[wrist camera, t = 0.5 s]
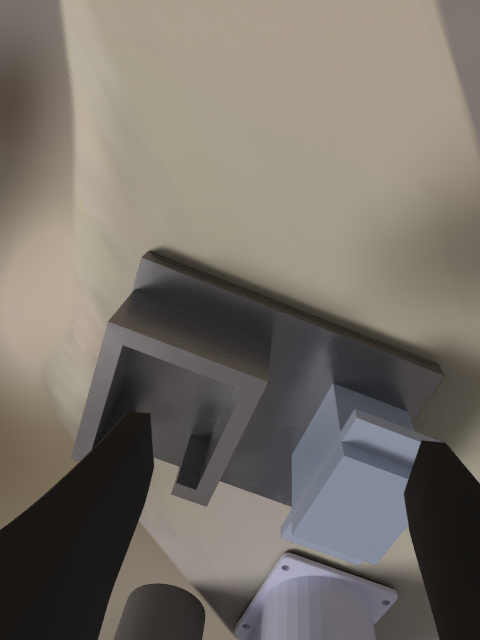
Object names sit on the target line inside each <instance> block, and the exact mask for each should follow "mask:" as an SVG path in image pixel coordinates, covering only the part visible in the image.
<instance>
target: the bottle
mask: <svg viewBox="0 0 480 640" xmlns="http://www.w3.org/2000/svg"><path fill="white" fill-rule="evenodd" d="M204 623H205V610H204V607H203V606H202V604H201V602H200V601H199V600H198V599H197V598H196V597H195V596H194V595H192V594H191V593H189V592H188V591H186V590H184V589H182V588H179V587H176V586H172V585H167V584H148V585H143V586H141V587H139V588H137V589H135V590H134V591H133V592H132V593H131V594H130V596H129V597H128V600H127V602H126V605H125V608H124V611H123V613H122V616H121V619H120V622H119V625H118V628H117V631H116V634H115V637H114V640H202V637H203V630H204Z"/></svg>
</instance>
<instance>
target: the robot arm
mask: <svg viewBox="0 0 480 640" xmlns="http://www.w3.org/2000/svg"><path fill="white" fill-rule="evenodd" d="M153 469H154V459H153V444H152V429H151V414H150V413H142V412H132V411H128V412H127V413H125V414H124V415H123V416H122V418H121V419H120V420H119V421H118V422H117V423H116V424H115V425H114V426H113V428H112V429H111V430H110V431H109V432H108V433H107V434H106V435H105V436H104V437H103V438H102V439H101V441H100V442H99V443H98V444H97V445H96V446H95V447H94V448H93V449H92V450H91V451H90V452H89V453H88V454H87V455H86V456H85V457H84V458H83V459H82V460H81V461H80V462H79V463H78V464H77V465H76V466H75V467H74V468H73V469H72V470H71V471H70V472H69V473H68V474H67V475H66V476H65V477H63V478H62V479H61V480H60V481H59V482H58V483H57V484H56V485H55V486H53V487H52V488H51V489H50V490H49V491H48V492H47V493H46V494H45V495H44V496H42V497H41V498H40V499H39V500H38V501H37V502H35V503H34V504H33V505H32V506H30V507H29V508H28V509H27V510H26V511H24V512H23V513H22V514H21V515H19V516H18V517H17V518H15V519H14V520H13V521H12V522H10V523H9V524H8V525H6V526H5V527H4V528H2V529H1V530H0V640H98V636H99V633H100V630H101V626H102V623H103V619H104V616H105V612H106V608H107V604H108V602H109V598H110V595H111V592H112V590H113V586H114V584H115V581H116V578H117V576H118V573H119V571H120V568H121V565H122V563H123V560H124V557H125V554H126V552H127V550H128V547H129V544H130V542H131V539H132V536H133V534H134V531H135V528H136V526H137V523H138V520H139V518H140V515H141V512H142V510H143V507H144V504H145V501H146V497H147V493H148V490H149V486H150V482H151V477H152V473H153ZM404 499H405V506H406V513H407V519H408V525H409V531H410V535H411V539H412V543H413V546H414V550H415V553H416V557H417V560H418V564H419V567H420V571H421V574H422V578H423V581H424V585H425V588H426V592H427V595H428V599H429V602H430V605H431V609H432V612H433V616H434V619H435V623H436V627H437V631H438V635H439V639H440V640H480V483H479V482H478V481H477V480H476V479H475V477H474V476H473V475H472V474H471V473H470V472H469V470H468V469H467V468H466V467H465V466H464V464H463V463H462V462H461V461H460V460H459V458H458V457H457V456H456V455H455V454H454V452H453V451H452V450H451V449H450V448H449V446H448V445H447V444H446V443H444V442H434V441H424V440H421V443H420V446H419V449H418V452H417V455H416V458H415V461H414V464H413V467H412V470H411V473H410V476H409V479H408V482H407V485H406V488H405V491H404ZM397 599H398V597H397V592H396V591H395V590H394V589H392V588H389V587H386V586H383V585H380V584H377V583H375V582H372V581H369V580H366V579H363V578H360V577H357V576H355V575H352V574H349V573H346V572H343V571H340V570H337V569H335V568H332V567H329V566H326V565H323V564H320V563H318V562H315V561H312V560H309V559H306V558H303V557H300V556H298V555H295V554H292V553H285V554H283V555H282V556H281V557H280V559H279V560H278V562H277V563H276V565H275V567H274V568H273V570H272V571H271V573H270V574H269V576H268V577H267V579H266V580H265V582H264V583H263V585H262V586H261V588H260V589H259V591H258V592H257V594H256V595H255V597H254V599H253V600H252V602H251V603H250V605H249V606H248V608H247V609H246V611H245V612H244V614H243V615H242V617H241V618H240V620H239V621H238V623H237V624H236V626H235V629H234V634H235V635H236V636H237V637H240V638H243V639H246V640H376V635H375V629H374V625H375V624H376V623H377V622H378V620H379V619H380V618H381V617H382V616H383V615H384V614H385V613H386V612H387V611H388V609H389V608H390V607H391V606H392V605H393V604H394V603H395V602H396V601H397Z"/></svg>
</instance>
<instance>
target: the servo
mask: <svg viewBox="0 0 480 640" xmlns="http://www.w3.org/2000/svg"><path fill="white" fill-rule="evenodd" d="M421 440H424V441H434V442H442V441H439V440H436V439H434V438H431V437H429V436H426V435H423V434H421V433H418V432H415V430H414V427H413V424H412V422H411V419H410V416H409V413H408V412H407V411H405V410H402V409H399V408H397V407H394V406H391V405H389V404H386V403H384V402H381V401H378V400H376V399H373V398H370V397H368V396H365V395H363V394H360V393H357V392H355V391H352V390H350V389H347V388H344V387H342V386H339V385H336V384H334V383H333V384H332V386H331V388H330V390H329V391H328V393H327V395H326V397H325V398H324V400H323V402H322V404H321V405H320V407H319V409H318V410H317V412H316V414H315V416H314V417H313V419H312V421H311V423H310V424H309V426H308V428H307V429H306V431H305V433H304V435H303V436H302V438H301V440H300V442H299V443H298V445H297V447H296V448H295V450H294V452H293V454H292V510H291V512H290V513H289V515H288V516H287V518H286V520H285V521H284V523H283V524H282V526H281V538H282V539H285V540H288V541H291V542H294V543H296V544H299V545H302V546H305V547H308V548H311V549H313V550H316V551H319V552H322V553H325V554H328V555H330V556H333V557H336V558H339V559H342V560H345V561H347V562H350V563H353V564H356V565H360V564H361V563H362V562H363V561H366V562H368V563H371V564H374V565H376V564H377V563H378V561H379V560H380V559H381V558H382V556H383V555H384V554H385V553H386V552H387V550H388V549H389V548H390V547H391V546H392V544H393V543H394V542H395V541H396V539H397V538H398V537H399V536H400V535H401V533H402V532H403V531H404V530H405V528H406V527H407V526H408V519H407V513H406V506H405V499H404V491H405V488H406V485H407V482H408V479H409V476H410V473H411V470H412V467H413V464H414V461H415V458H416V455H417V452H418V449H419V446H420V443H421Z"/></svg>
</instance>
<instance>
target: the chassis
mask: <svg viewBox="0 0 480 640" xmlns="http://www.w3.org/2000/svg"><path fill="white" fill-rule="evenodd" d="M444 377H445V375H444V373H443V371H442V370H441V368H440V366H439V365H438V364H435V363H433V362H430V361H428V360H425V359H423V358H420V357H417V356H415V355H412V354H410V353H407V352H405V351H402V350H400V349H397V348H394V347H392V346H389V345H387V344H384V343H382V342H379V341H377V340H374V339H372V338H369V337H366V336H364V335H361V334H359V333H356V332H354V331H351V330H349V329H346V328H343V327H341V326H338V325H336V324H333V323H331V322H328V321H326V320H323V319H320V318H318V317H315V316H313V315H310V314H308V313H305V312H303V311H300V310H297V309H295V308H292V307H290V306H287V305H285V304H282V303H280V302H277V301H274V300H272V299H269V298H267V297H264V296H262V295H259V294H257V293H254V292H252V291H249V290H246V289H244V288H241V287H239V286H236V285H234V284H231V283H229V282H226V281H223V280H221V279H218V278H216V277H213V276H211V275H208V274H206V273H203V272H200V271H198V270H195V269H193V268H190V267H188V266H185V265H183V264H180V263H177V262H175V261H172V260H170V259H167V258H165V257H162V256H160V255H157V254H155V253H152V252H149V251H148V252H147V253H146V254H145V255H144V256H143V257H142V258H141V262H140V265H139V269H138V272H137V276H136V279H135V283H134V286H133V289H132V293H131V295H130V296H129V297H128V298H127V299H126V301H125V302H124V303H123V304H122V305H121V307H120V308H119V309H118V310H117V312H116V313H115V314H114V315H113V316H112V318H111V319H110V320H109V321H108V324H107V328H106V332H105V335H104V339H103V343H102V346H101V350H100V354H99V357H98V361H97V365H96V368H95V372H94V376H93V379H92V383H91V387H90V390H89V394H88V398H87V401H86V405H85V409H84V412H83V416H82V420H81V423H80V427H79V431H78V434H77V438H76V442H75V445H74V449H73V453H72V457H71V459H73V460H76V461H79V462H80V461H81V460H82V459H83V458H84V457H85V456H86V455H87V454H88V453H89V452H90V451H91V450H92V449H93V448H94V447H95V446H96V445H97V444H98V443H99V442H100V441H101V439H102V438H103V437H104V436H105V435H106V434H107V433H108V432H109V431H110V430H111V429H112V428H113V426H114V425H115V424H116V423H117V422H118V421H119V420H120V419H121V418H122V416H123V415H124V414H125V413H127V412H128V411H132V412H142V413H150V414H151V429H152V444H153V457H154V458H157V459H160V460H163V461H166V462H168V463H171V464H174V465H177V466H179V470H178V474H177V477H176V480H175V483H174V487H173V490H172V493H171V494H172V495H175V496H178V497H181V498H183V499H186V500H189V501H192V502H195V503H198V504H200V505H203V506H206V507H207V505H208V503H209V501H210V499H211V497H212V495H213V493H214V491H215V489H216V487H217V485H218V483H219V481H221V482H224V483H227V484H230V485H232V486H235V487H238V488H241V489H244V490H246V491H249V492H252V493H255V494H258V495H260V496H263V497H266V498H269V499H271V500H274V501H277V502H280V503H283V504H285V505H288V506H291V507H292V454H293V452H294V450H295V448H296V447H297V445H298V443H299V442H300V440H301V438H302V436H303V435H304V433H305V431H306V429H307V428H308V426H309V424H310V423H311V421H312V419H313V417H314V416H315V414H316V412H317V410H318V409H319V407H320V405H321V404H322V402H323V400H324V398H325V397H326V395H327V393H328V391H329V390H330V388H331V386H332V384H333V383H334V384H336V385H339V386H342V387H344V388H347V389H350V390H352V391H355V392H357V393H360V394H363V395H365V396H368V397H370V398H373V399H376V400H378V401H381V402H384V403H386V404H389V405H391V406H394V407H397V408H399V409H402V410H405V411H407V412H408V413H409V416H410V419H411V422H413V420H414V419H415V417H416V416H417V415H418V413H419V412H420V410H421V409H422V408H423V406H424V405H425V403H426V402H427V401H428V399H429V398H430V396H431V395H432V394H433V392H434V391H435V389H436V388H437V387H438V385H439V384H440V382H441V381H442V380H443V378H444Z"/></svg>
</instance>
